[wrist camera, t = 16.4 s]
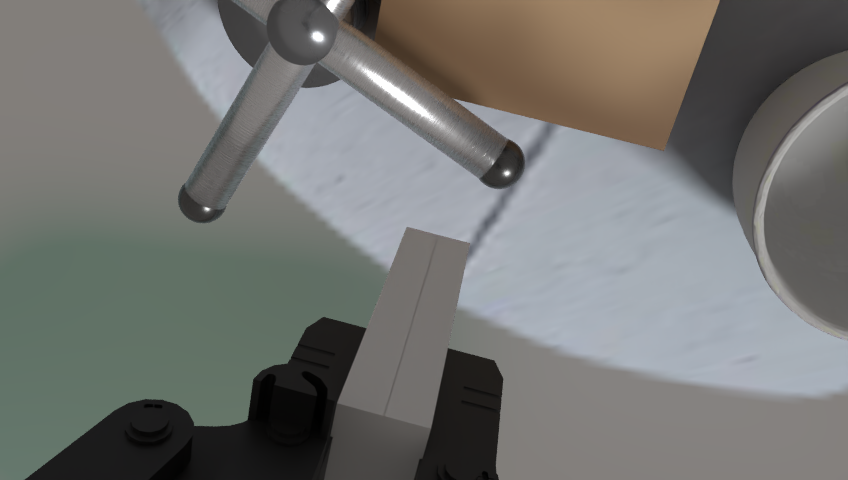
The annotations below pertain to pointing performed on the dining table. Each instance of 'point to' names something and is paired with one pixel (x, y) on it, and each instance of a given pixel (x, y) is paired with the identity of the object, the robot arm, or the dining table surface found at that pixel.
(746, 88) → the dining table surface
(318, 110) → the dining table surface
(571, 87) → the stand
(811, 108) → the teacup
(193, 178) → the capstan
